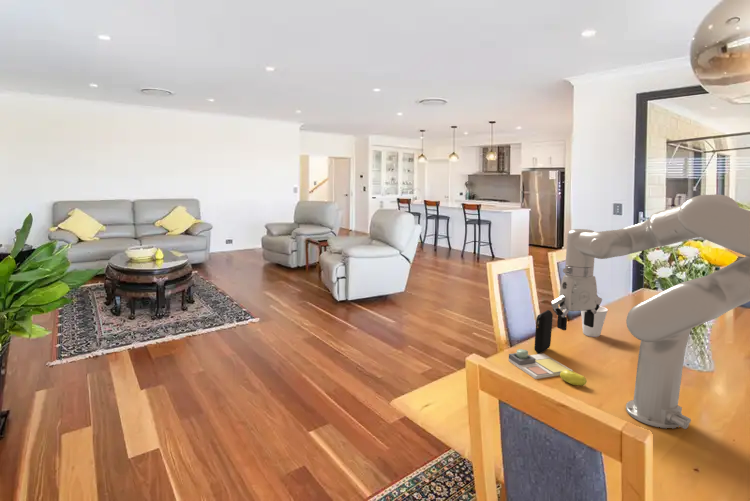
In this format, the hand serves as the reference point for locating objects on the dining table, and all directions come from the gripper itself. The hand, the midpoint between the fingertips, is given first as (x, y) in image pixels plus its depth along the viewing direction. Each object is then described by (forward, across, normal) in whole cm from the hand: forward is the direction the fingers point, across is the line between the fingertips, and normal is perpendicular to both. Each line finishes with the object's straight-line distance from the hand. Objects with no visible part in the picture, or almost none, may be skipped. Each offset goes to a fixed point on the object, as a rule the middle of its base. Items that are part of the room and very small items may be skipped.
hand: (575, 327), depth 128 cm
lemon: (+17, -1, -1) cm, 17 cm away
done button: (+14, -7, +15) cm, 22 cm away
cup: (+17, +37, +32) cm, 51 cm away
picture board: (+17, -3, +11) cm, 20 cm away
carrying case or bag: (+17, +6, +22) cm, 28 cm away
